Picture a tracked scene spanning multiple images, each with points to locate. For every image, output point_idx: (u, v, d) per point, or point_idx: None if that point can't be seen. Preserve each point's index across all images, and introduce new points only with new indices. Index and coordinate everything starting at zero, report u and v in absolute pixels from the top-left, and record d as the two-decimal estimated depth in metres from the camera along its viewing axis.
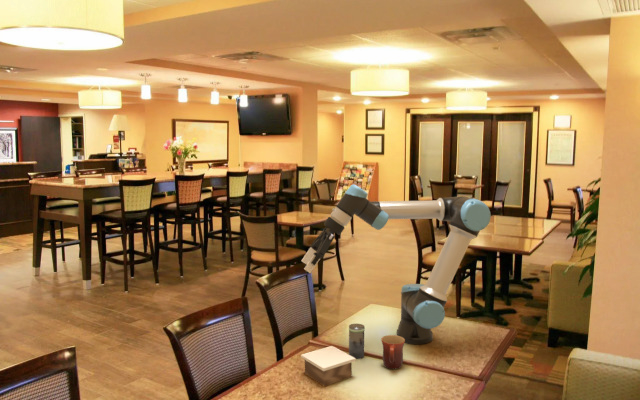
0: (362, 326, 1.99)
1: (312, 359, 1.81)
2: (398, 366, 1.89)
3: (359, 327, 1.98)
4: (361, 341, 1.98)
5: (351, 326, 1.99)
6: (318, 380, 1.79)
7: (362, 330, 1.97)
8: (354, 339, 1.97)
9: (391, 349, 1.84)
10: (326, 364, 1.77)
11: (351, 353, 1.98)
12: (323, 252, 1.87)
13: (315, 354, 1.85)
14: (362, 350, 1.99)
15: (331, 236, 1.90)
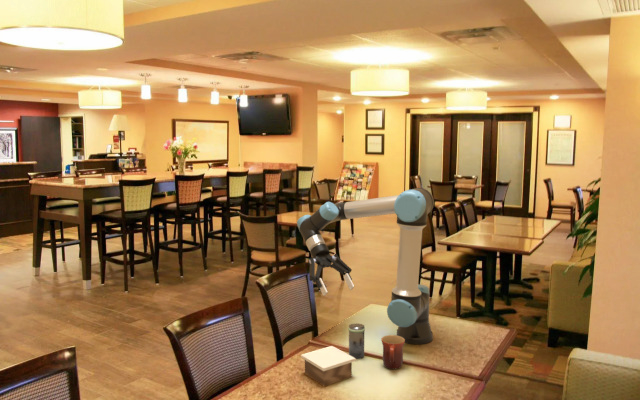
0: (362, 326, 1.99)
1: (312, 359, 1.81)
2: (398, 366, 1.89)
3: (359, 327, 1.98)
4: (361, 341, 1.98)
5: (351, 326, 1.99)
6: (318, 380, 1.79)
7: (362, 330, 1.97)
8: (354, 339, 1.97)
9: (391, 349, 1.84)
10: (326, 364, 1.77)
11: (351, 353, 1.98)
12: (311, 274, 2.06)
13: (315, 354, 1.85)
14: (362, 350, 1.99)
15: (309, 260, 2.11)
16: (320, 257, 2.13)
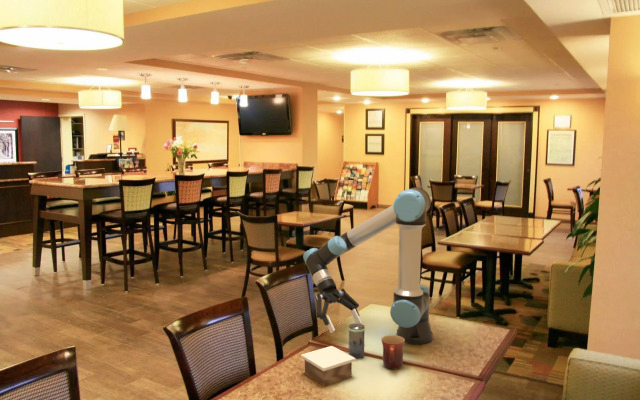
0: (362, 326, 1.99)
1: (312, 359, 1.81)
2: (398, 366, 1.89)
3: (359, 327, 1.98)
4: (361, 341, 1.98)
5: (351, 326, 1.99)
6: (318, 380, 1.79)
7: (362, 330, 1.97)
8: (354, 339, 1.97)
9: (391, 349, 1.84)
10: (326, 364, 1.77)
11: (351, 353, 1.98)
12: (317, 311, 2.03)
13: (315, 354, 1.85)
14: (362, 350, 1.99)
15: (316, 296, 2.07)
16: (327, 293, 2.10)
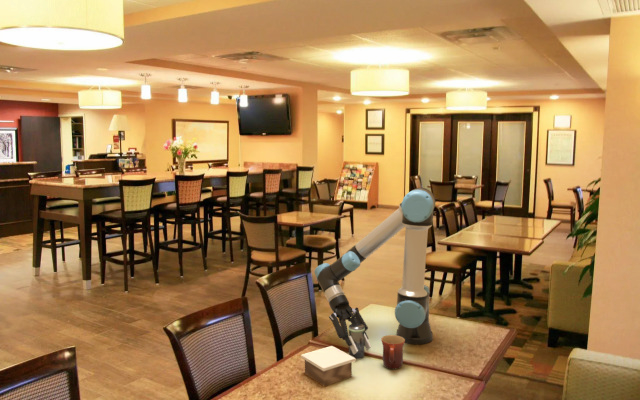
0: (362, 326, 1.99)
1: (312, 359, 1.81)
2: (398, 366, 1.89)
3: (359, 327, 1.98)
4: (361, 341, 1.98)
5: (351, 326, 1.99)
6: (318, 380, 1.79)
7: (362, 330, 1.97)
8: (354, 339, 1.97)
9: (391, 349, 1.84)
10: (326, 364, 1.77)
11: (351, 353, 1.98)
12: (339, 332, 1.98)
13: (315, 354, 1.85)
14: (362, 350, 1.99)
15: (331, 317, 2.02)
16: (339, 309, 2.05)
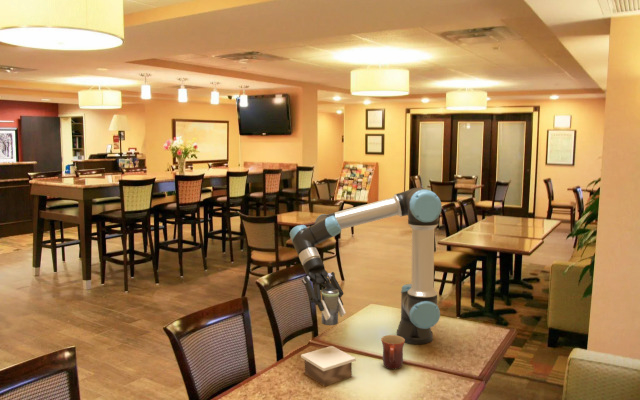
0: (336, 290, 1.86)
1: (312, 359, 1.81)
2: (398, 366, 1.89)
3: (333, 291, 1.85)
4: (335, 306, 1.84)
5: (324, 290, 1.86)
6: (318, 380, 1.79)
7: (336, 294, 1.84)
8: (327, 303, 1.84)
9: (391, 349, 1.84)
10: (326, 364, 1.77)
11: (324, 319, 1.85)
12: (311, 296, 1.85)
13: (315, 354, 1.85)
14: (335, 316, 1.85)
15: (303, 280, 1.88)
16: (313, 272, 1.91)
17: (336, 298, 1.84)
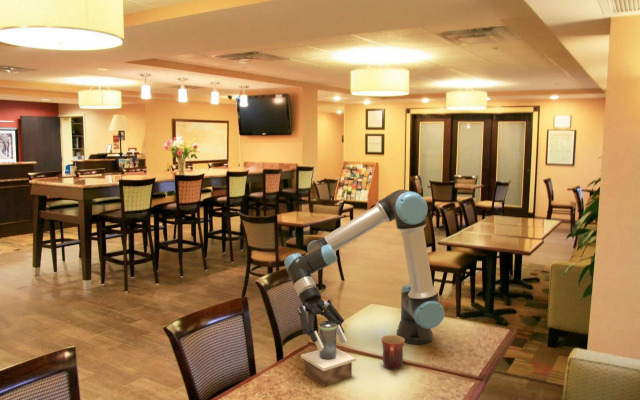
0: (334, 323, 1.82)
1: (312, 359, 1.81)
2: (398, 366, 1.89)
3: (330, 325, 1.81)
4: (333, 339, 1.81)
5: (322, 323, 1.82)
6: (318, 380, 1.79)
7: (333, 328, 1.80)
8: (325, 337, 1.80)
9: (391, 349, 1.84)
10: (326, 364, 1.77)
11: (322, 353, 1.81)
12: (304, 326, 1.80)
13: (315, 354, 1.85)
14: (334, 350, 1.81)
15: (299, 309, 1.84)
16: (310, 303, 1.87)
17: (334, 332, 1.81)
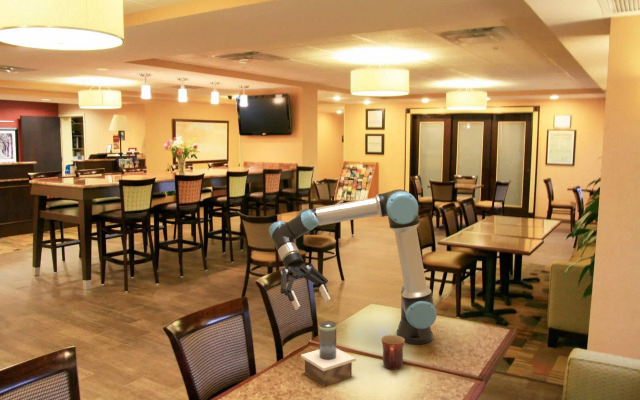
0: (334, 324, 1.82)
1: (312, 359, 1.81)
2: (398, 366, 1.89)
3: (330, 325, 1.81)
4: (333, 340, 1.81)
5: (322, 324, 1.82)
6: (318, 380, 1.79)
7: (333, 328, 1.80)
8: (325, 337, 1.80)
9: (391, 349, 1.84)
10: (326, 364, 1.77)
11: (322, 353, 1.81)
12: (282, 286, 1.88)
13: (315, 354, 1.85)
14: (334, 350, 1.81)
15: (281, 271, 1.92)
16: (293, 267, 1.95)
17: (334, 332, 1.81)
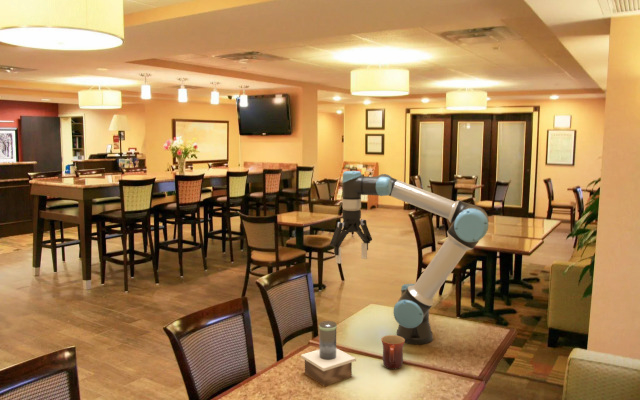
0: (334, 324, 1.82)
1: (312, 359, 1.81)
2: (398, 366, 1.89)
3: (330, 325, 1.81)
4: (333, 340, 1.81)
5: (322, 324, 1.82)
6: (318, 380, 1.79)
7: (333, 328, 1.80)
8: (325, 337, 1.80)
9: (391, 349, 1.84)
10: (326, 364, 1.77)
11: (322, 353, 1.81)
12: (333, 240, 2.04)
13: (315, 354, 1.85)
14: (334, 350, 1.81)
15: (338, 224, 2.05)
16: (349, 223, 2.07)
17: (334, 332, 1.81)
